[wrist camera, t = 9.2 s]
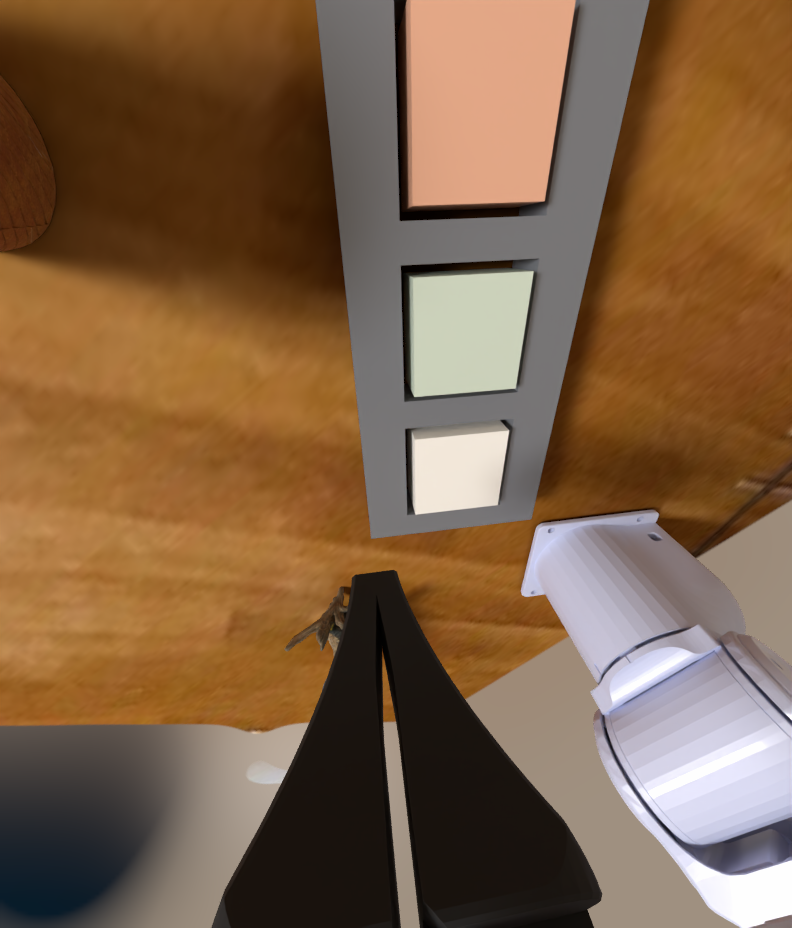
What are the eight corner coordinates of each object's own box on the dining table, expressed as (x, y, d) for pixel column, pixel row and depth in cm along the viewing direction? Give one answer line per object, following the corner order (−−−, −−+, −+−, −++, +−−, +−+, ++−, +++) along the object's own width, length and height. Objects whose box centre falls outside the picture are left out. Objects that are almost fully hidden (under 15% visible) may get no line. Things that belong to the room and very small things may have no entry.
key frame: (613, -43, 12) (673, -107, 9) (514, 494, 24) (531, 519, 22) (310, -53, 11) (302, -126, 9) (368, 511, 23) (371, 538, 21)
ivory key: (490, 409, 20) (509, 430, 17) (482, 479, 22) (497, 505, 20) (406, 417, 19) (414, 439, 17) (407, 487, 22) (415, 514, 20)
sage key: (507, 267, 16) (533, 271, 14) (495, 371, 18) (515, 388, 16) (403, 273, 15) (413, 277, 13) (405, 378, 18) (414, 397, 16)
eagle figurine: (264, 615, 25) (303, 695, 29) (303, 680, 20) (346, 769, 23) (350, 559, 29) (376, 635, 33) (403, 600, 24) (428, 686, 27)
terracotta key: (534, 36, 12) (577, -10, 10) (514, 207, 15) (544, 201, 12) (397, 35, 12) (410, -14, 9) (401, 211, 14) (412, 206, 12)
